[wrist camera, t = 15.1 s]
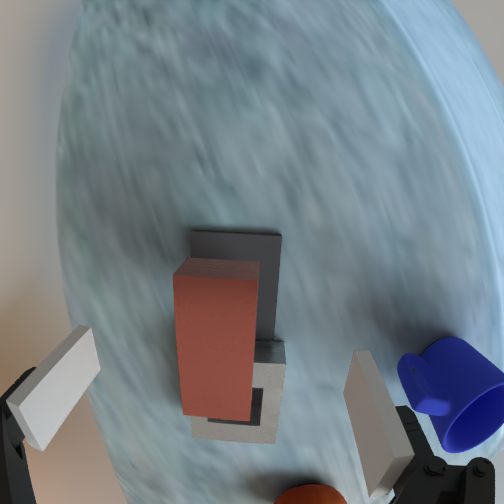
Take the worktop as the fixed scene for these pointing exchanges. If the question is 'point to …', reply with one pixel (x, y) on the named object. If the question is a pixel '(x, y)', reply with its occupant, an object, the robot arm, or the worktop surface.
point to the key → (216, 336)
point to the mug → (455, 392)
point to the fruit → (311, 495)
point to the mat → (247, 249)
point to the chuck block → (253, 402)
